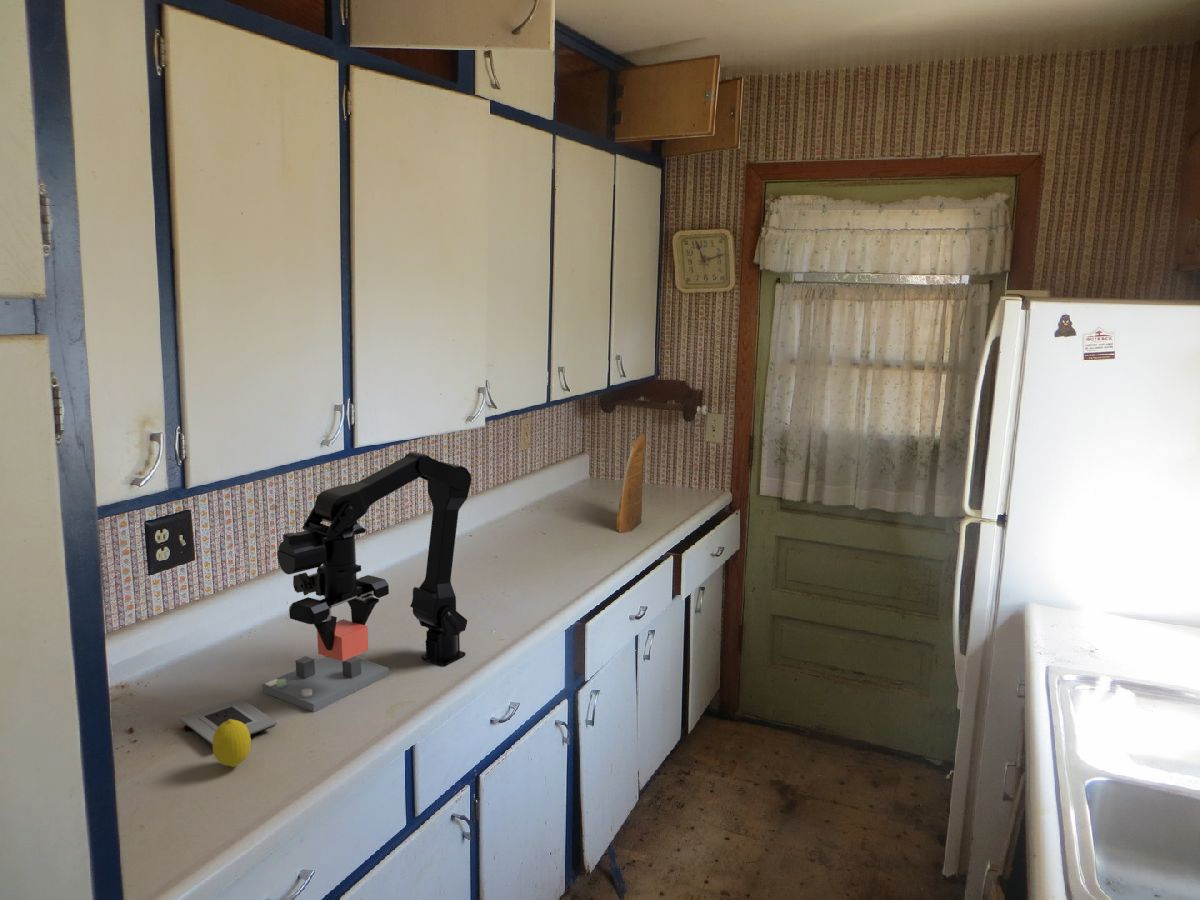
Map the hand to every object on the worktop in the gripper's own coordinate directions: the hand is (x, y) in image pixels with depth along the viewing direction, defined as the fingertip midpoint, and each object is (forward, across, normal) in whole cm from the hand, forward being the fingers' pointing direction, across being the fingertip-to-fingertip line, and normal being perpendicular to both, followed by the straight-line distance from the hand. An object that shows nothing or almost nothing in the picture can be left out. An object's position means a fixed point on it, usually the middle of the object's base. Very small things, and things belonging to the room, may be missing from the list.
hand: (342, 643), depth 165 cm
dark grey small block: (+8, -5, -3) cm, 10 cm away
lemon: (+10, +27, +4) cm, 29 cm away
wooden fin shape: (+10, -127, -12) cm, 128 cm away
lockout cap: (+2, 0, 0) cm, 2 cm away
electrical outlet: (+11, +19, -7) cm, 23 cm away
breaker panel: (+10, -2, -6) cm, 12 cm away
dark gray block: (+9, 0, -10) cm, 13 cm away
